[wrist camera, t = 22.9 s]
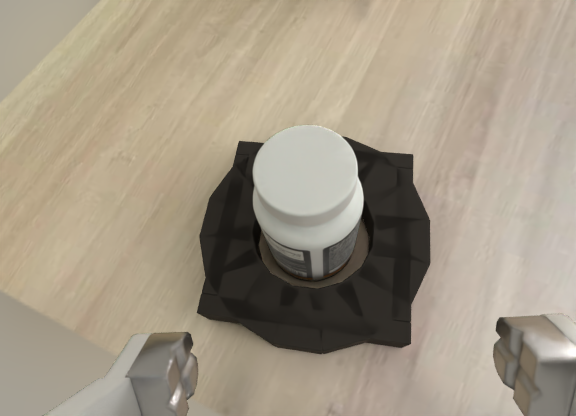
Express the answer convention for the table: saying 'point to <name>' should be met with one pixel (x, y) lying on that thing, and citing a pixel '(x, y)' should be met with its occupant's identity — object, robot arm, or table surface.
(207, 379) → the table surface
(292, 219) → the pill bottle
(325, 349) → the base pad
